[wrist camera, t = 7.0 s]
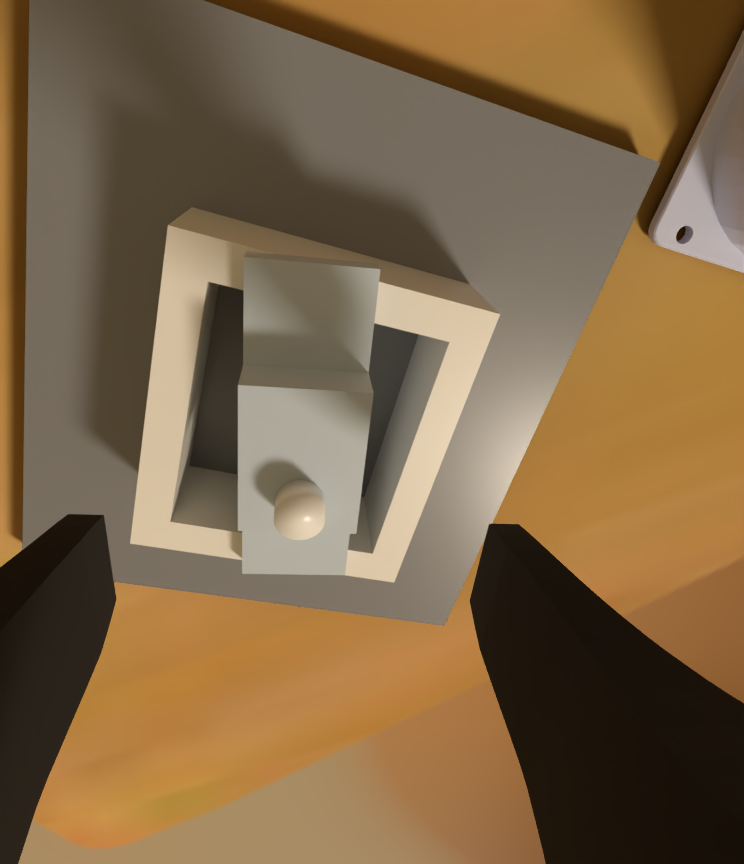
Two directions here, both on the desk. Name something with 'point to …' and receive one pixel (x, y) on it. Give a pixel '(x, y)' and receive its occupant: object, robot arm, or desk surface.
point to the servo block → (303, 410)
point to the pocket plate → (298, 236)
